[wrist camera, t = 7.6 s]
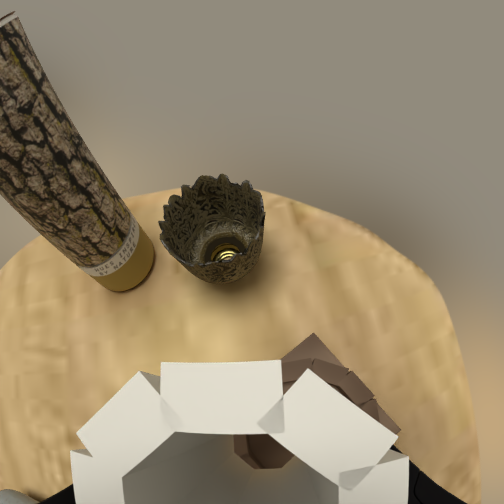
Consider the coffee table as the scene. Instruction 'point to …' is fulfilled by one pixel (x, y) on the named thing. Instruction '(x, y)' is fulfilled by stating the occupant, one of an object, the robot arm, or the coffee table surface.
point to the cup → (215, 228)
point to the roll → (222, 442)
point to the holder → (293, 366)
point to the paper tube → (61, 173)
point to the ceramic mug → (15, 497)
